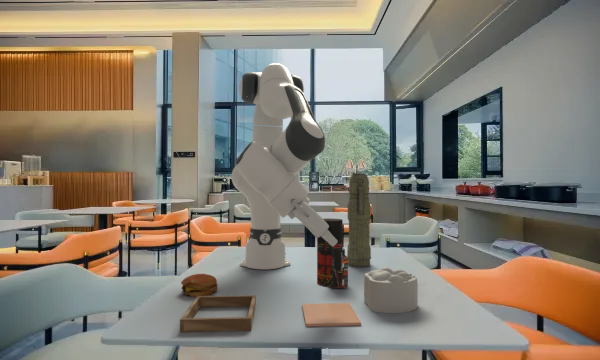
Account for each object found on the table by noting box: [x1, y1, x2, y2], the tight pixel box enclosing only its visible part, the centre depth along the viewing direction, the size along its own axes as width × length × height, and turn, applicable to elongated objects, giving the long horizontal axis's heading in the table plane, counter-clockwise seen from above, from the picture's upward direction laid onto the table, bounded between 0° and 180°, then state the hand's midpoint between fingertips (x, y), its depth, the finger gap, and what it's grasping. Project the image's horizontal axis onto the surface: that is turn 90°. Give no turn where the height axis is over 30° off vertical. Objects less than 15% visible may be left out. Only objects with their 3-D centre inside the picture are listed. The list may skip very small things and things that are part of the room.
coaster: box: [302, 302, 362, 328], centre depth 78 cm, size 12×12×1 cm
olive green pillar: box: [346, 173, 372, 268], centre depth 128 cm, size 9×12×35 cm
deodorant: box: [316, 218, 344, 288], centre depth 78 cm, size 6×6×15 cm
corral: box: [179, 294, 257, 333], centre depth 76 cm, size 15×15×2 cm
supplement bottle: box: [331, 247, 349, 290], centre depth 100 cm, size 6×6×11 cm
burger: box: [180, 273, 218, 298], centre depth 94 cm, size 10×9×5 cm
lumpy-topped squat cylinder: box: [363, 266, 419, 314], centre depth 85 cm, size 10×13×9 cm
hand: (332, 241), depth 78 cm, fingers closed on deodorant, 6 cm apart
